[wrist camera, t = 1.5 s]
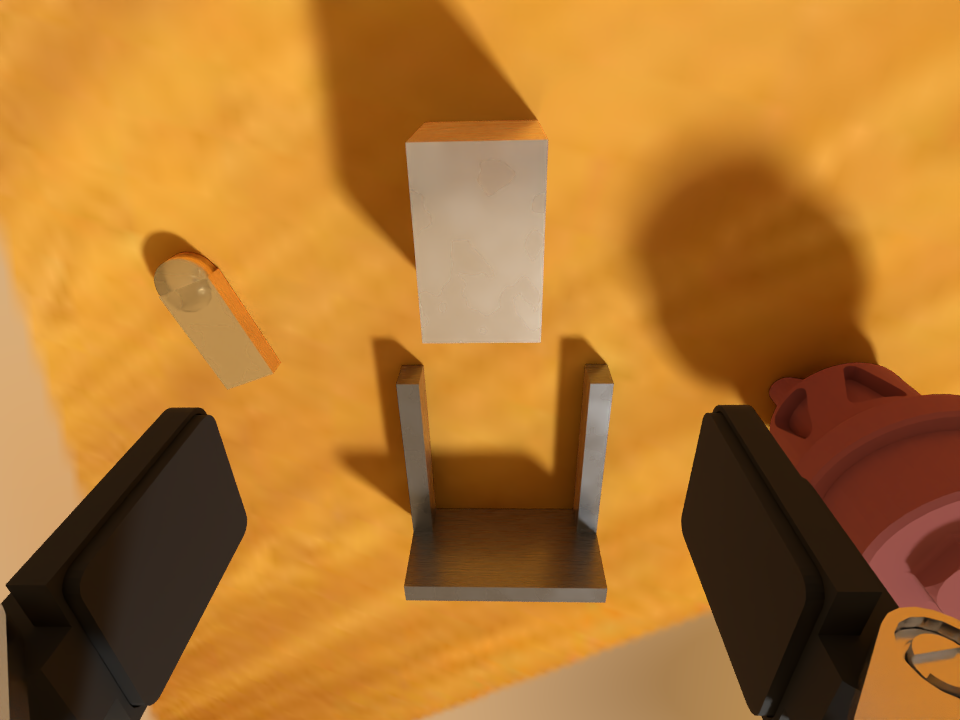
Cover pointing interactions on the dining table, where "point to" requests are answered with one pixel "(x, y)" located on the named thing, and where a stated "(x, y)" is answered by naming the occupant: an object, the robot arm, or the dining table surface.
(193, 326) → the brass key tag
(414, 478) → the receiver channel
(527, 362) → the dining table surface
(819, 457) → the mechanical component
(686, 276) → the dining table surface
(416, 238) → the aluminium block
